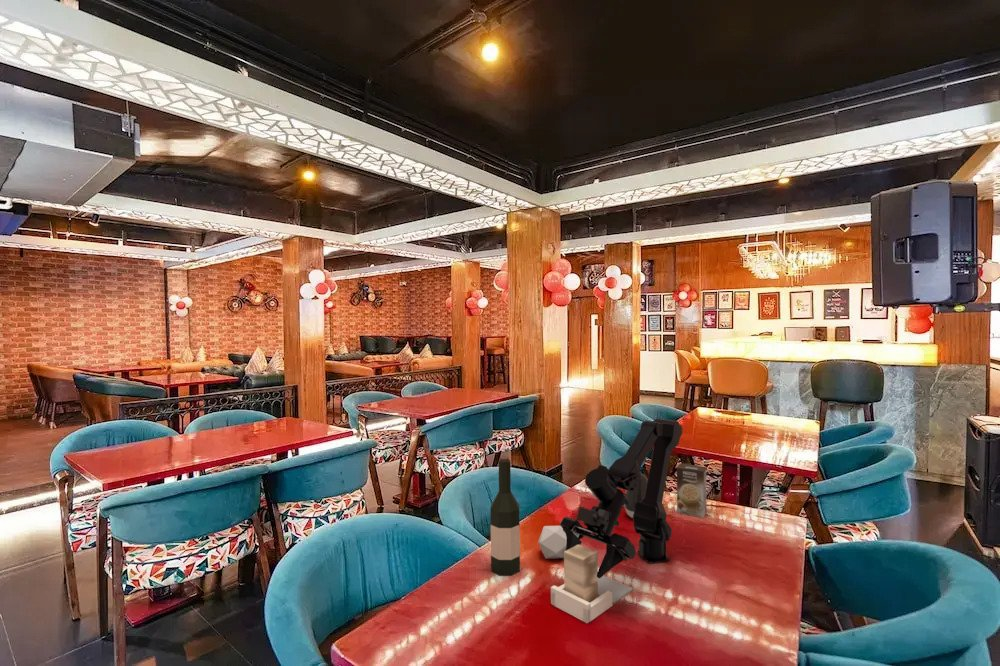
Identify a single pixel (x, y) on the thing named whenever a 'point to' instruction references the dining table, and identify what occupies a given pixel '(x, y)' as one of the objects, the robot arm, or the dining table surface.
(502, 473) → the wine bottle
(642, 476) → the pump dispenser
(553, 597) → the white angular bracket
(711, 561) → the dining table surface
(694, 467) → the coffee box
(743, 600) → the dining table surface
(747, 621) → the dining table surface
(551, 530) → the die
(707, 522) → the dining table surface
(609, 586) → the grey pad
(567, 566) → the birch block
